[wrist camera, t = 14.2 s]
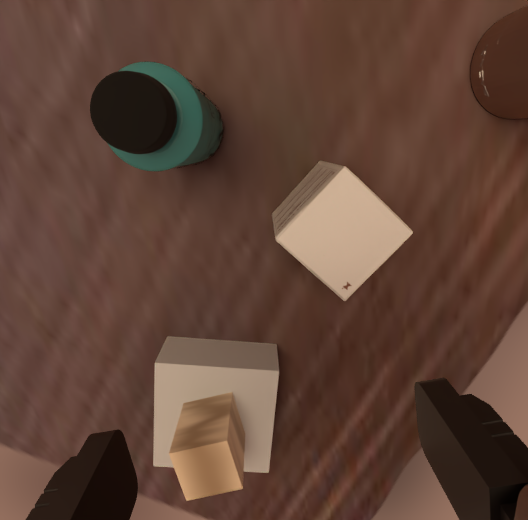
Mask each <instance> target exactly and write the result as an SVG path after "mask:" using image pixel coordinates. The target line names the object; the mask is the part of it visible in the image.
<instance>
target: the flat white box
mask: <svg viewBox="0 0 528 520" xmlns="http://www.w3.org/2000/svg"><path fill="white" fill-rule="evenodd" d="M278 378H279V363H278V352H277V344H271V343H256V342H242V341H228V340H213V339H199V338H185V337H170V336H167V338H166V340H165V342H164V344H163V347H162V349H161V351H160V353H159V355H158V357H157V359H156V361H155V389H154V460H153V466H160V467H174V466H173V464H172V461H171V458H170V456H169V451H170V448H171V445H172V441H173V438H174V434H175V431H176V427H177V424H178V420H179V417H180V414H181V410H182V407H183V403H186V402H191V401H195V400H199V399H204V398H208V397H212V396H217V395H221V394H225V393H230V392H232V393H233V396H234V399H235V402H236V406H237V409H238V412H239V415H240V418H241V422H242V425H243V428H244V431H245V451H244V471H245V472H262V473H269V464H270V455H271V445H272V436H273V426H274V416H275V407H276V397H277V388H278Z"/></svg>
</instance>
